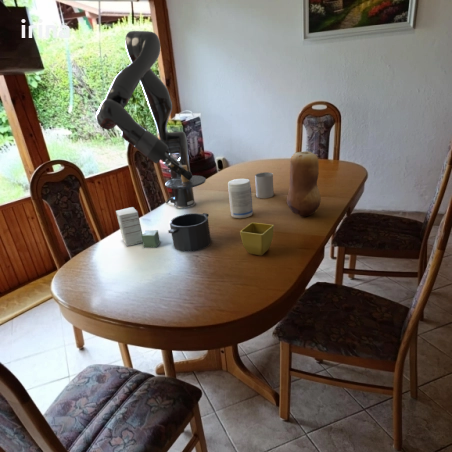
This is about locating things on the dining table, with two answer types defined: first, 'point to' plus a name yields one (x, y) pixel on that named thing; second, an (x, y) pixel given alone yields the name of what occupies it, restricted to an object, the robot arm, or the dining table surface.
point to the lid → (185, 181)
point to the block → (150, 239)
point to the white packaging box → (130, 226)
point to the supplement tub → (240, 198)
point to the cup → (264, 185)
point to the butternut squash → (304, 184)
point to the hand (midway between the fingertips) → (190, 176)
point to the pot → (190, 232)
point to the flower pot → (257, 237)
